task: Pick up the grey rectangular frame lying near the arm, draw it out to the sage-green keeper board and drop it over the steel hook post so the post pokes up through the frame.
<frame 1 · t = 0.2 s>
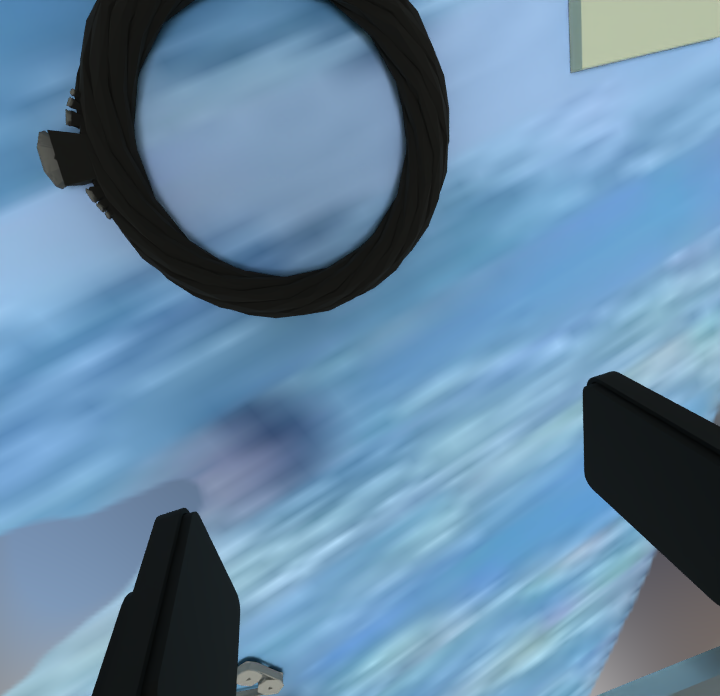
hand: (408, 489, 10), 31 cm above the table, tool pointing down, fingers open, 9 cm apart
cable lock: (262, 146, 35), on the table
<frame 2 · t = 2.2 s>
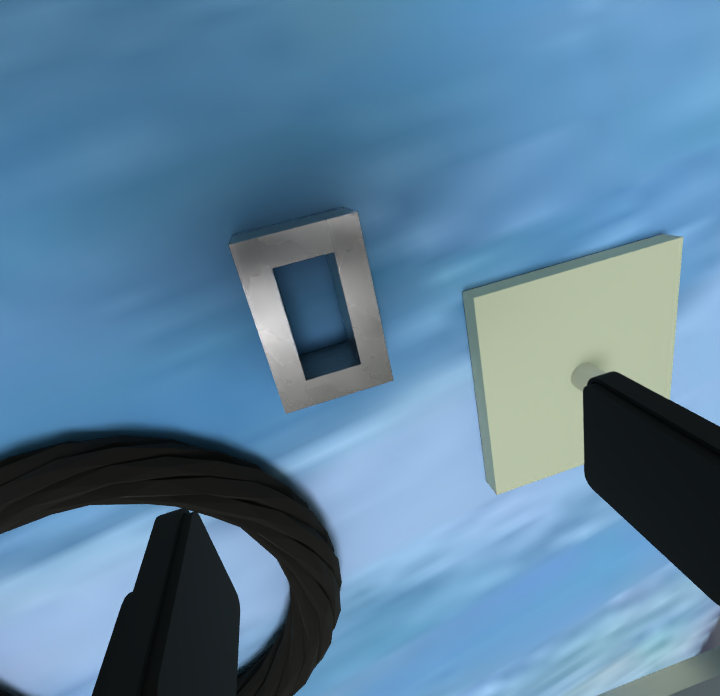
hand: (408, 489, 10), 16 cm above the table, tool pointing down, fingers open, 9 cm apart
cable lock: (120, 601, 30), on the table
keeper board: (568, 366, 30), on the table
grey rectangular frame: (310, 301, 25), on the table
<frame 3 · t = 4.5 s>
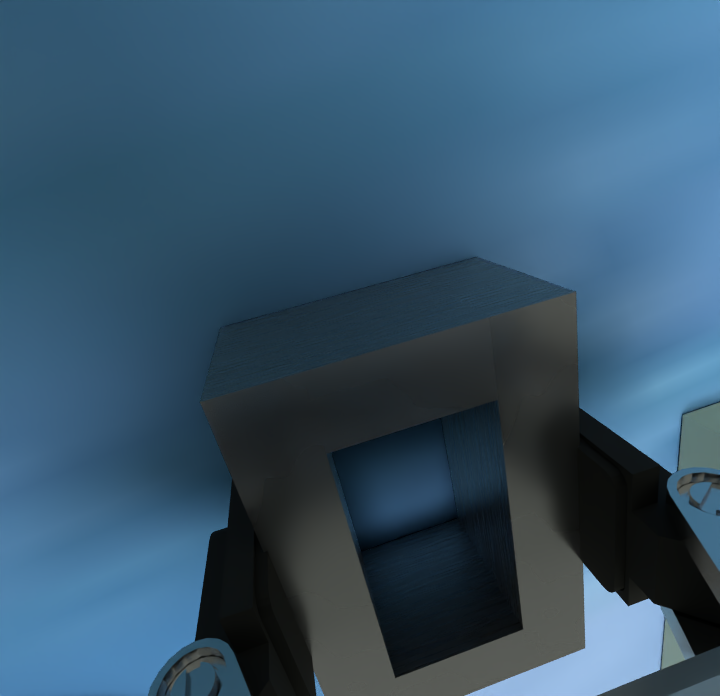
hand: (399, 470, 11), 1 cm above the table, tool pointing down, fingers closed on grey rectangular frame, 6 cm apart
grey rectangular frame: (390, 452, 12), on the table, touching gripper
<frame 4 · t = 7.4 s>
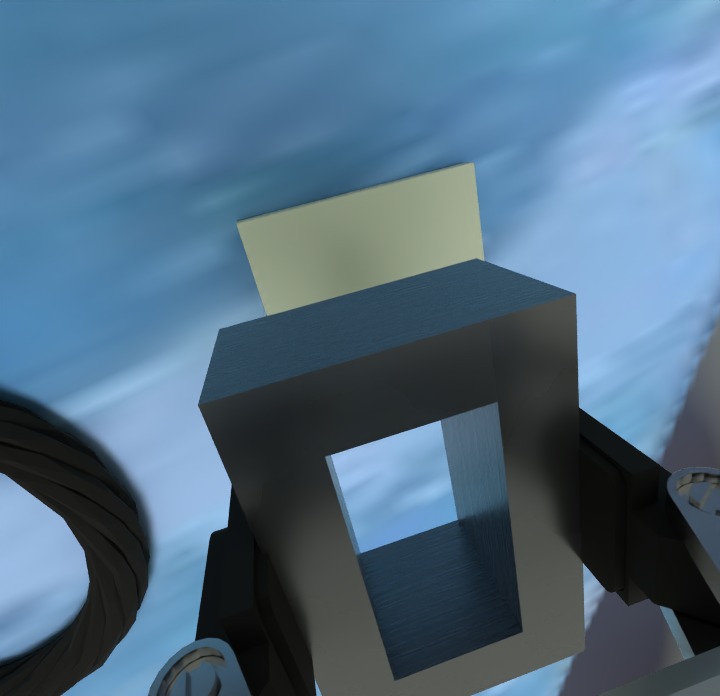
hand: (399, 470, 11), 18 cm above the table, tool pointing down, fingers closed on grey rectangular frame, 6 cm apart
keeper board: (379, 308, 29), on the table
grey rectangular frame: (390, 453, 12), point 18 cm above the table, touching gripper
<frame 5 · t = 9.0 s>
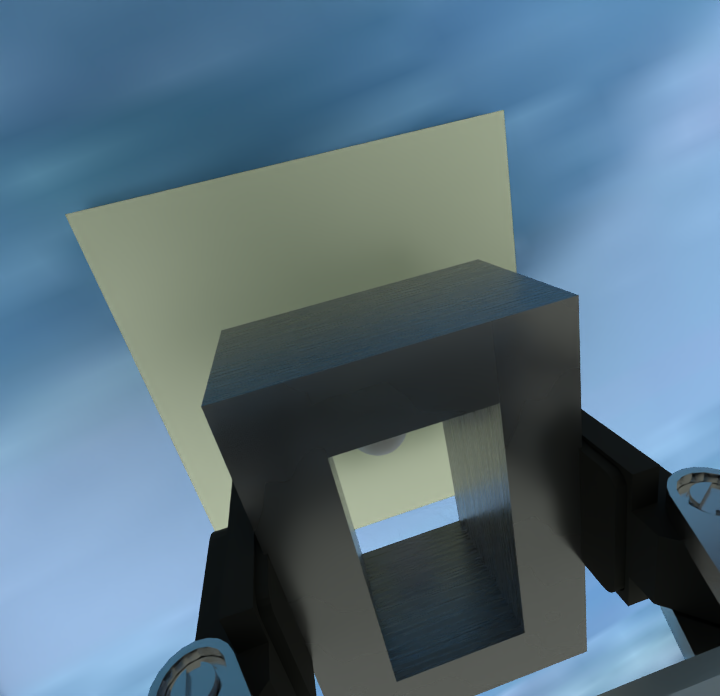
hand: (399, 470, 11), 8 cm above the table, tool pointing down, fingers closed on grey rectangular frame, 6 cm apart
keeper board: (344, 355, 18), on the table
grey rectangular frame: (391, 454, 12), point 7 cm above the table, touching gripper
when the fingers open (4 cm above the table, at t = 10.3 s): grey rectangular frame drops 2 cm, resting on keeper board.
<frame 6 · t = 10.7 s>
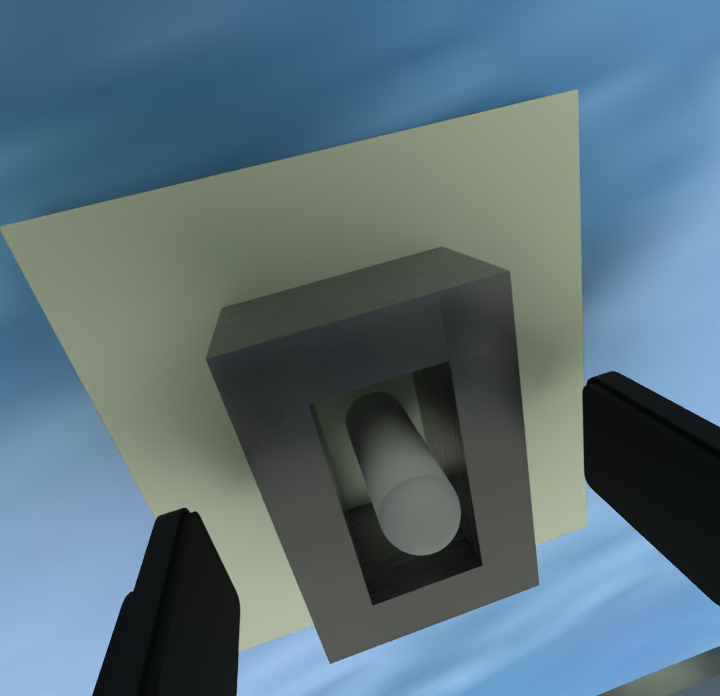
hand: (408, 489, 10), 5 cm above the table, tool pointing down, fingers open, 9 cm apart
keeper board: (364, 396, 15), on the table
grey rectangular frame: (371, 419, 13), point 1 cm above the table, touching keeper board
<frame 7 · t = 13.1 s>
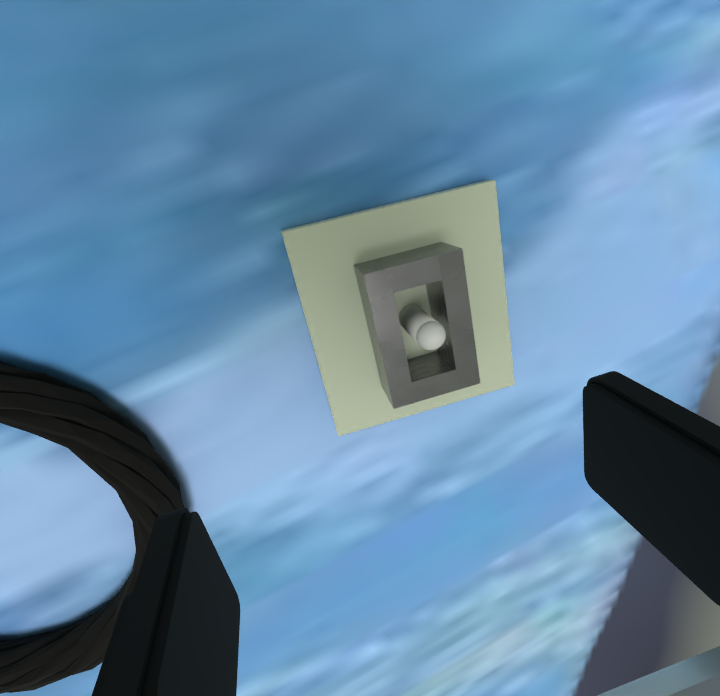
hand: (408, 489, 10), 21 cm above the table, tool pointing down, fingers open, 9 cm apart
keeper board: (405, 311, 32), on the table
grey rectangular frame: (409, 317, 30), point 1 cm above the table, touching keeper board
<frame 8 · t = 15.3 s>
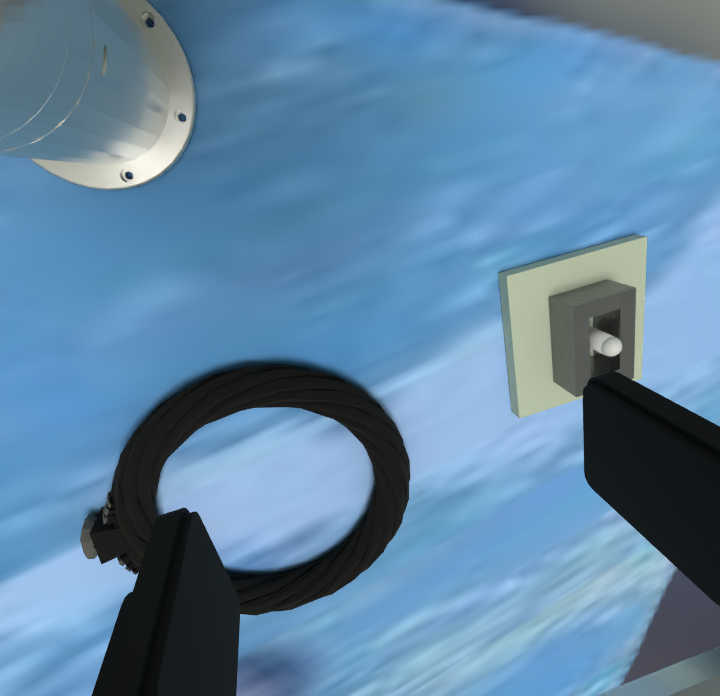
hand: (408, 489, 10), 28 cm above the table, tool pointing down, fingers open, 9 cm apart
cable lock: (258, 488, 43), on the table
keeper board: (569, 327, 44), on the table
grey rectangular frame: (579, 332, 42), point 1 cm above the table, touching keeper board
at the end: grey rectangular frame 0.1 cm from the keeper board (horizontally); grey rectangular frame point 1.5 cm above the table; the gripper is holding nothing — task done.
